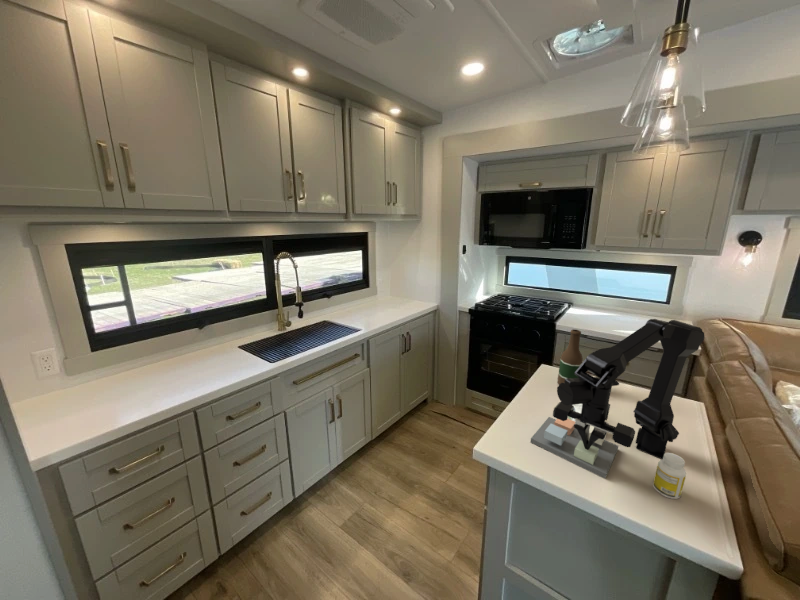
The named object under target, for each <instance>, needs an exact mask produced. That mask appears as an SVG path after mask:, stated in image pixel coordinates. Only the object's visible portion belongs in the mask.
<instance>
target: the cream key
mask: <svg viewBox="0 0 800 600" xmlns="http://www.w3.org/2000/svg"><path fill="white" fill-rule="evenodd" d="M593 429H594V427H593V426H591V425H590V429H589V438H590V435H591V433H592V431H593ZM606 437H607V435H606V436H605V438H604V439H598V440H596V441H595V443H597V444H599V445H602V443H603V441H604V440H606Z"/></svg>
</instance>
